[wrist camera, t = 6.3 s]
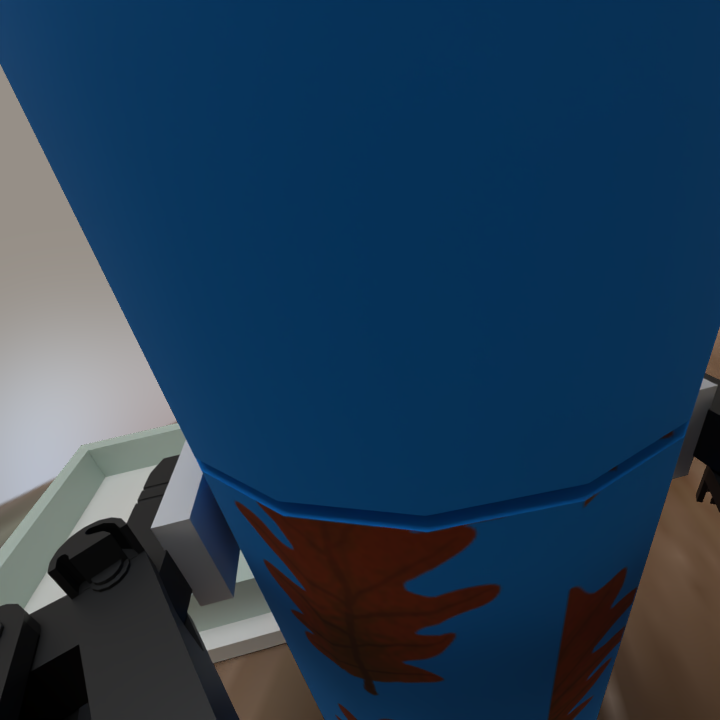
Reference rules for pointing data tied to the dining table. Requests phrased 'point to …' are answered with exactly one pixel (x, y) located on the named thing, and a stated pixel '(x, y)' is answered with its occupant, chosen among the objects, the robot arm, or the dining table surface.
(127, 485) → the holder
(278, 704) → the dining table surface
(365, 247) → the leaf-print tea canister
